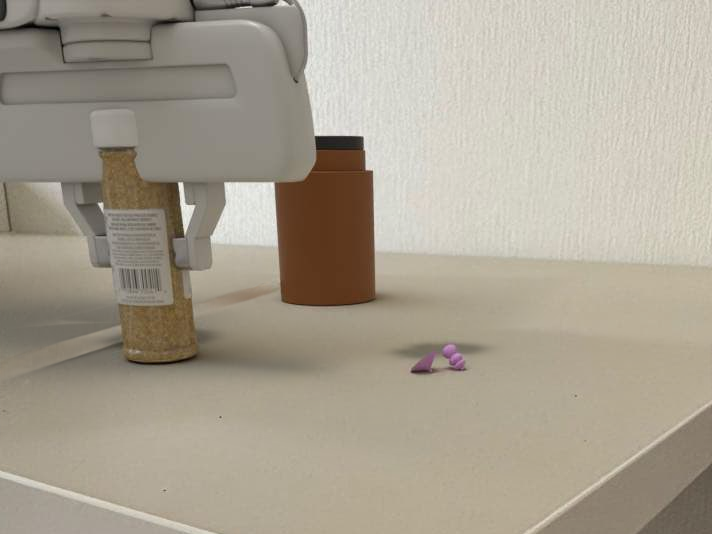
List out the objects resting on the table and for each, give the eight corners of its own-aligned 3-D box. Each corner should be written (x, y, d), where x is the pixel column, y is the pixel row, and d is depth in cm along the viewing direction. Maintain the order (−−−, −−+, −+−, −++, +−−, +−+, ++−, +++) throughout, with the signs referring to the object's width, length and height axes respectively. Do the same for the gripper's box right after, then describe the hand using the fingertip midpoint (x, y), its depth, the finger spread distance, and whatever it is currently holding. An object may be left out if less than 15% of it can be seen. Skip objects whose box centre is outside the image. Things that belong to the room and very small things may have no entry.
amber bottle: (265, 303, 72) (254, 136, 67) (303, 290, 79) (295, 138, 74) (356, 307, 70) (352, 135, 65) (387, 293, 77) (385, 136, 72)
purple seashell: (424, 398, 50) (432, 386, 48) (407, 375, 50) (415, 362, 48) (464, 372, 51) (473, 359, 49) (447, 349, 51) (456, 336, 49)
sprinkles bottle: (214, 352, 54) (190, 109, 49) (168, 367, 50) (137, 105, 45) (154, 347, 56) (125, 112, 50) (105, 361, 52) (67, 108, 47)
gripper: (328, -12, 45) (338, 266, 51) (-1, 9, 51) (40, 258, 57) (277, -35, 40) (294, 280, 45) (-86, -8, 45) (-31, 269, 51)
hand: (151, 268), depth 51 cm, fingers closed on sprinkles bottle, 4 cm apart
